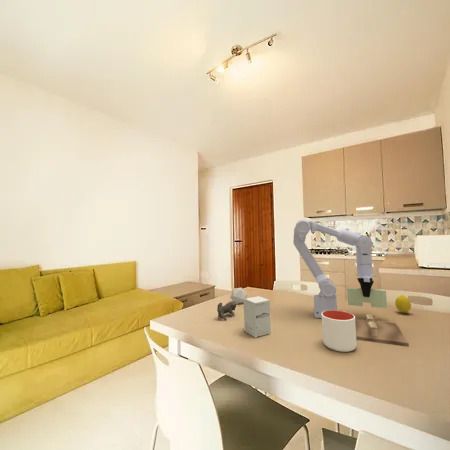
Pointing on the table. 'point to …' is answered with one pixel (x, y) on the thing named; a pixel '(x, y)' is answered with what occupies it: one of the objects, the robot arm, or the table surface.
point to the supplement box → (257, 316)
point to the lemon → (403, 304)
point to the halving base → (379, 331)
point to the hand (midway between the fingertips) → (366, 296)
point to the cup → (339, 330)
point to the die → (238, 295)
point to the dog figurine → (226, 309)
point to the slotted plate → (375, 298)
